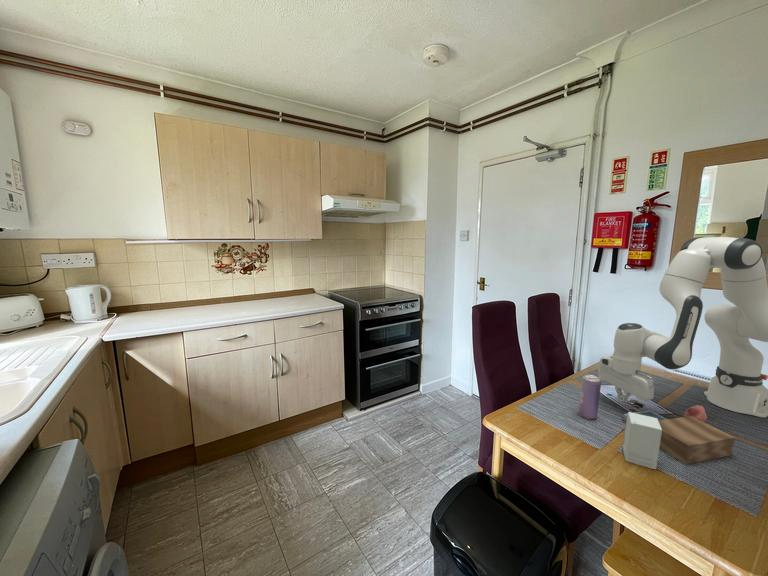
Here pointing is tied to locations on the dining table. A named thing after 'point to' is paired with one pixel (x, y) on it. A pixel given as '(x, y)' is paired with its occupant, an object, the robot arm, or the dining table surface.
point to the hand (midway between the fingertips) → (622, 399)
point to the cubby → (694, 440)
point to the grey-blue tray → (646, 413)
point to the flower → (696, 413)
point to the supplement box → (642, 440)
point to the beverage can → (589, 396)
